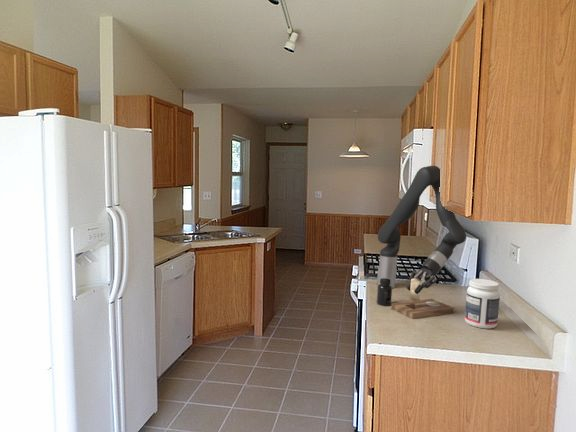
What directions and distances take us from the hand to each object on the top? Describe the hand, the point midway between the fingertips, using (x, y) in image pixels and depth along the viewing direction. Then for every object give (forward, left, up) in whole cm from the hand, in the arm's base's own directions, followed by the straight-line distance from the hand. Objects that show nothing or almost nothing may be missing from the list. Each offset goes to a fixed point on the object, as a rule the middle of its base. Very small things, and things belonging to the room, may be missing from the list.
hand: (411, 290), depth 194 cm
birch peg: (0, +2, -4) cm, 5 cm away
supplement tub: (+22, +19, -10) cm, 31 cm away
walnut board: (0, +7, -10) cm, 12 cm away
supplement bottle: (-14, -4, -10) cm, 18 cm away
